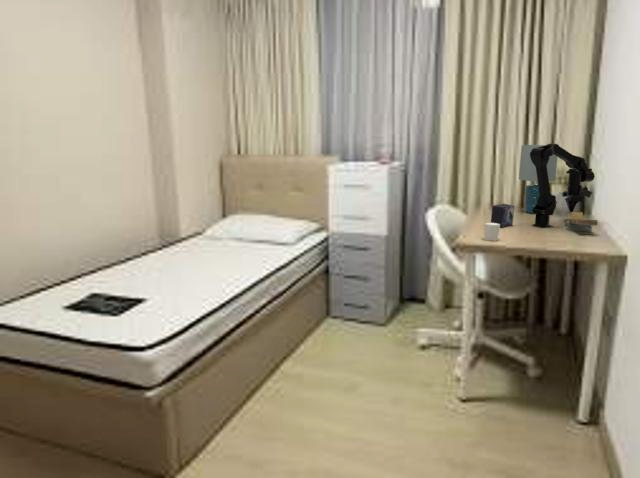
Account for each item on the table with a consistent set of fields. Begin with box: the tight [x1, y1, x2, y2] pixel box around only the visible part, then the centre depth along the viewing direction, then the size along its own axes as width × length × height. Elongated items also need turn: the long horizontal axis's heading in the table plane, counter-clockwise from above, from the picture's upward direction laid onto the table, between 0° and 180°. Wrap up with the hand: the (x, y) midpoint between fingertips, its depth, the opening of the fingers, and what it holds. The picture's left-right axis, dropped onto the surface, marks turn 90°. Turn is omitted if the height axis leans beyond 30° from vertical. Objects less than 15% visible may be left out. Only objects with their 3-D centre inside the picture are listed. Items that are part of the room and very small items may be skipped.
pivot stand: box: [565, 220, 594, 236], centre depth 260 cm, size 25×11×5 cm, turn 169°
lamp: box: [518, 144, 559, 215], centre depth 305 cm, size 19×19×38 cm
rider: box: [567, 211, 584, 220], centre depth 268 cm, size 7×5×4 cm
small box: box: [490, 203, 515, 229], centre depth 269 cm, size 11×6×10 cm, turn 129°
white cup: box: [483, 222, 501, 242], centre depth 239 cm, size 7×7×7 cm
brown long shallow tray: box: [563, 218, 598, 226], centre depth 259 cm, size 26×8×2 cm, turn 169°
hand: (571, 213), depth 275 cm, fingers closed
